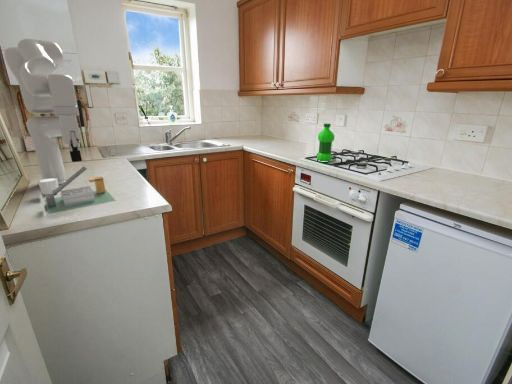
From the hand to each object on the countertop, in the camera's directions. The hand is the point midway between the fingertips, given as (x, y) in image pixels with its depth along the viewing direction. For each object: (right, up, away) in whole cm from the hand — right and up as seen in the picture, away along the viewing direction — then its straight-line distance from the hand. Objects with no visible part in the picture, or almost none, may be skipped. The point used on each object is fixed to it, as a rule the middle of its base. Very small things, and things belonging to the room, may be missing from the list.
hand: (76, 161), depth 106 cm
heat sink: (-4, -16, +3) cm, 16 cm away
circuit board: (-2, -16, +5) cm, 17 cm away
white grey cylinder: (-20, -13, +14) cm, 28 cm away
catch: (+1, -12, +13) cm, 17 cm away
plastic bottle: (+114, +8, +80) cm, 139 cm away
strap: (-3, -8, +1) cm, 8 cm away
